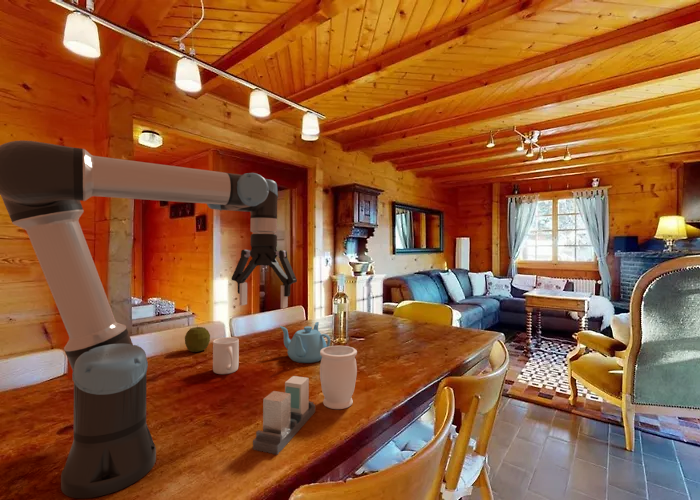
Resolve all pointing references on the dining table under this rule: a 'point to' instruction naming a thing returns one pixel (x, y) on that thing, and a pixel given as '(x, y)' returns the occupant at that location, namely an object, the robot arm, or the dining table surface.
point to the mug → (225, 355)
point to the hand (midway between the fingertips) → (263, 306)
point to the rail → (277, 439)
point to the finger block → (298, 393)
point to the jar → (338, 375)
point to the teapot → (305, 344)
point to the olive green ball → (197, 339)
